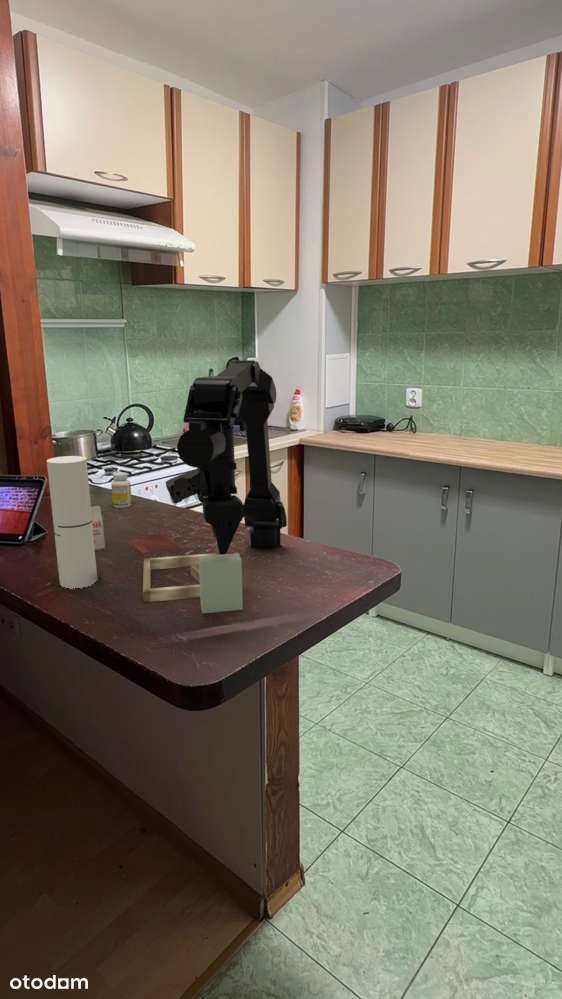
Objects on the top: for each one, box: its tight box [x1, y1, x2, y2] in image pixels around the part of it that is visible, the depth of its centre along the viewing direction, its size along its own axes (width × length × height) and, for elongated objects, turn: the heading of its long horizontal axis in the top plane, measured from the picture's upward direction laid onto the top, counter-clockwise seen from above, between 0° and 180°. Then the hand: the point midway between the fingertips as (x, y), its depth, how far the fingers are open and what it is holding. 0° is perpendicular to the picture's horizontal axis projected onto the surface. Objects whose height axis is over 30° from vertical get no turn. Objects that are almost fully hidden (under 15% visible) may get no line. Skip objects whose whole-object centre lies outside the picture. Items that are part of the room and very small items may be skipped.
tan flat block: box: [190, 565, 200, 584], centre depth 119 cm, size 5×6×2 cm
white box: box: [91, 505, 106, 551], centre depth 139 cm, size 4×7×10 cm, turn 118°
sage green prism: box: [199, 552, 244, 614], centre depth 105 cm, size 7×4×10 cm, turn 102°
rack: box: [142, 541, 221, 603], centre depth 117 cm, size 16×17×6 cm
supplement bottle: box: [111, 471, 132, 509], centre depth 175 cm, size 5×5×10 cm
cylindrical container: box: [46, 455, 98, 590], centre depth 118 cm, size 7×7×25 cm
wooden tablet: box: [130, 532, 185, 554], centre depth 139 cm, size 27×10×2 cm, turn 30°
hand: (219, 545), depth 103 cm, fingers open, 9 cm apart
